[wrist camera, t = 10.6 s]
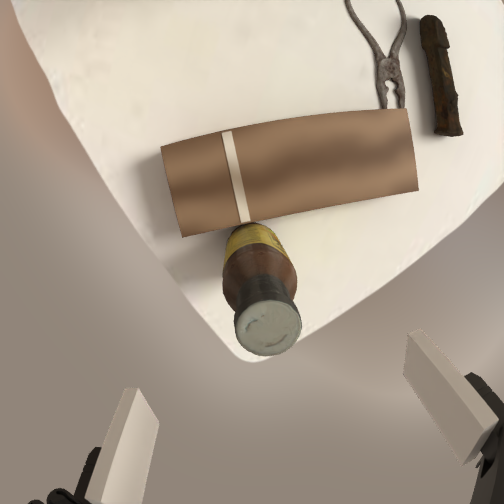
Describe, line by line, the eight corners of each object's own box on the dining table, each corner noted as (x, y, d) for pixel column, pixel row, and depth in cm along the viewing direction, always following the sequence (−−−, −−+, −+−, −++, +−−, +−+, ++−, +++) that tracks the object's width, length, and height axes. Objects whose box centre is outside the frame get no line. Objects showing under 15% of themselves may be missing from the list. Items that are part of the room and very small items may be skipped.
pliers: (395, -11, 25) (440, 109, 31) (393, -8, 26) (436, 110, 32) (338, -15, 25) (385, 114, 31) (336, -12, 26) (382, 115, 32)
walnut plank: (168, 148, 32) (160, 146, 28) (390, 112, 32) (406, 108, 28) (188, 229, 35) (182, 237, 31) (402, 187, 35) (419, 190, 31)
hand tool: (450, 138, 33) (470, 137, 29) (430, 135, 33) (450, 134, 28) (433, 24, 27) (449, 15, 23) (412, 18, 27) (428, 7, 23)
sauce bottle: (278, 268, 37) (315, 372, 18) (227, 270, 37) (220, 379, 18) (277, 217, 35) (324, 284, 16) (225, 219, 35) (211, 290, 16)
